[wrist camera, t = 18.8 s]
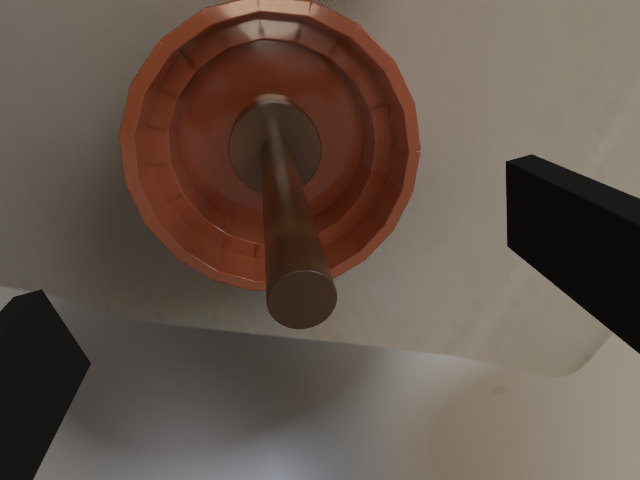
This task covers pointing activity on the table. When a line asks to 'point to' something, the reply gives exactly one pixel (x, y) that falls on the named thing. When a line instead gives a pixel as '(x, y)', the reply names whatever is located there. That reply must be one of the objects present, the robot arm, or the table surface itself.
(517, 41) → the table surface
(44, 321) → the robot arm
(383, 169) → the bowl
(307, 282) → the dark brown rod
